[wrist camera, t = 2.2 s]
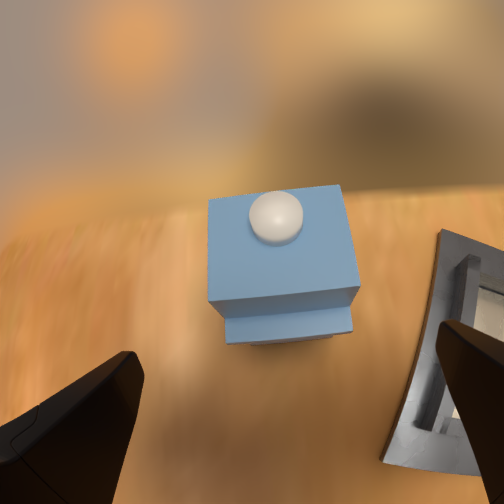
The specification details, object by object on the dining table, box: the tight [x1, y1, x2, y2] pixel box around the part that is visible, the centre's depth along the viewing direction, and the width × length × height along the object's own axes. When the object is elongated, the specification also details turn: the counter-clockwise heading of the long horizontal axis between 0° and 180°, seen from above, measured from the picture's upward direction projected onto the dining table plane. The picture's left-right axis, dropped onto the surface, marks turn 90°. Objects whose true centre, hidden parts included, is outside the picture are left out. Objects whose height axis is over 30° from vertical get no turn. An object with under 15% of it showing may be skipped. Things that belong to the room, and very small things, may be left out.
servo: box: [208, 185, 361, 345], centre depth 15 cm, size 6×5×11 cm
